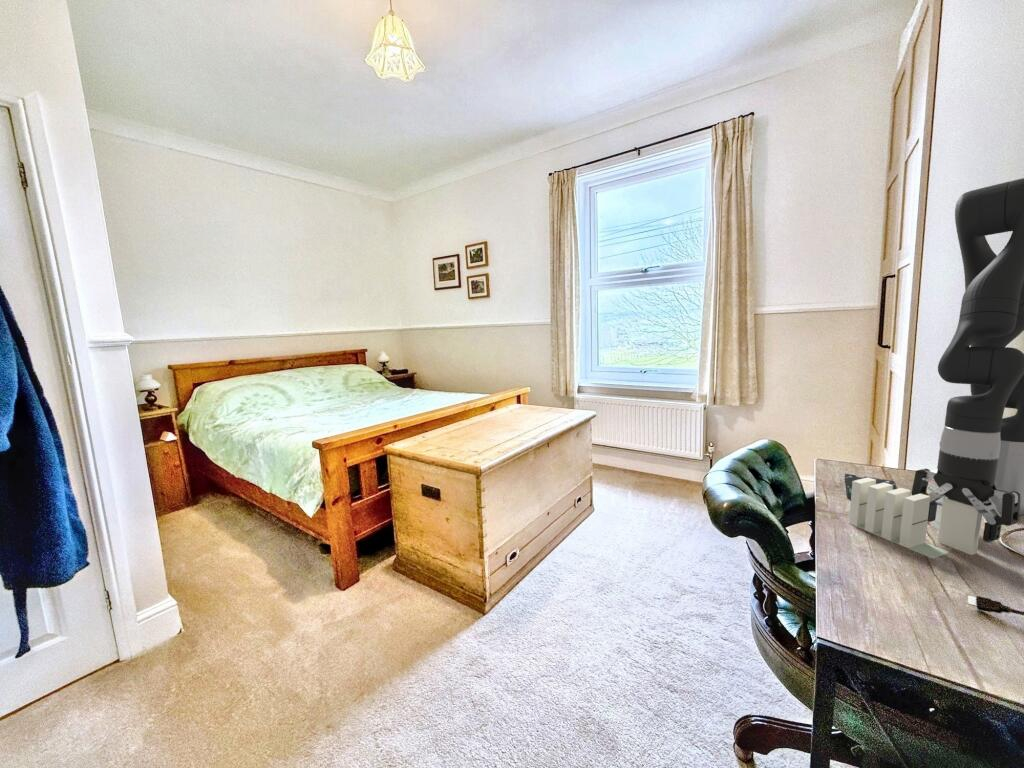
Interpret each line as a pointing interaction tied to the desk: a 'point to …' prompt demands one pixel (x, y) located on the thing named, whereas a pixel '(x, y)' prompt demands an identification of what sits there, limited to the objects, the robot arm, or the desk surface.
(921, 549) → the felt strip
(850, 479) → the disk drive
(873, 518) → the domino
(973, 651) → the desk surface
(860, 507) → the domino
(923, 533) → the domino
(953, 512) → the domino
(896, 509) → the domino
